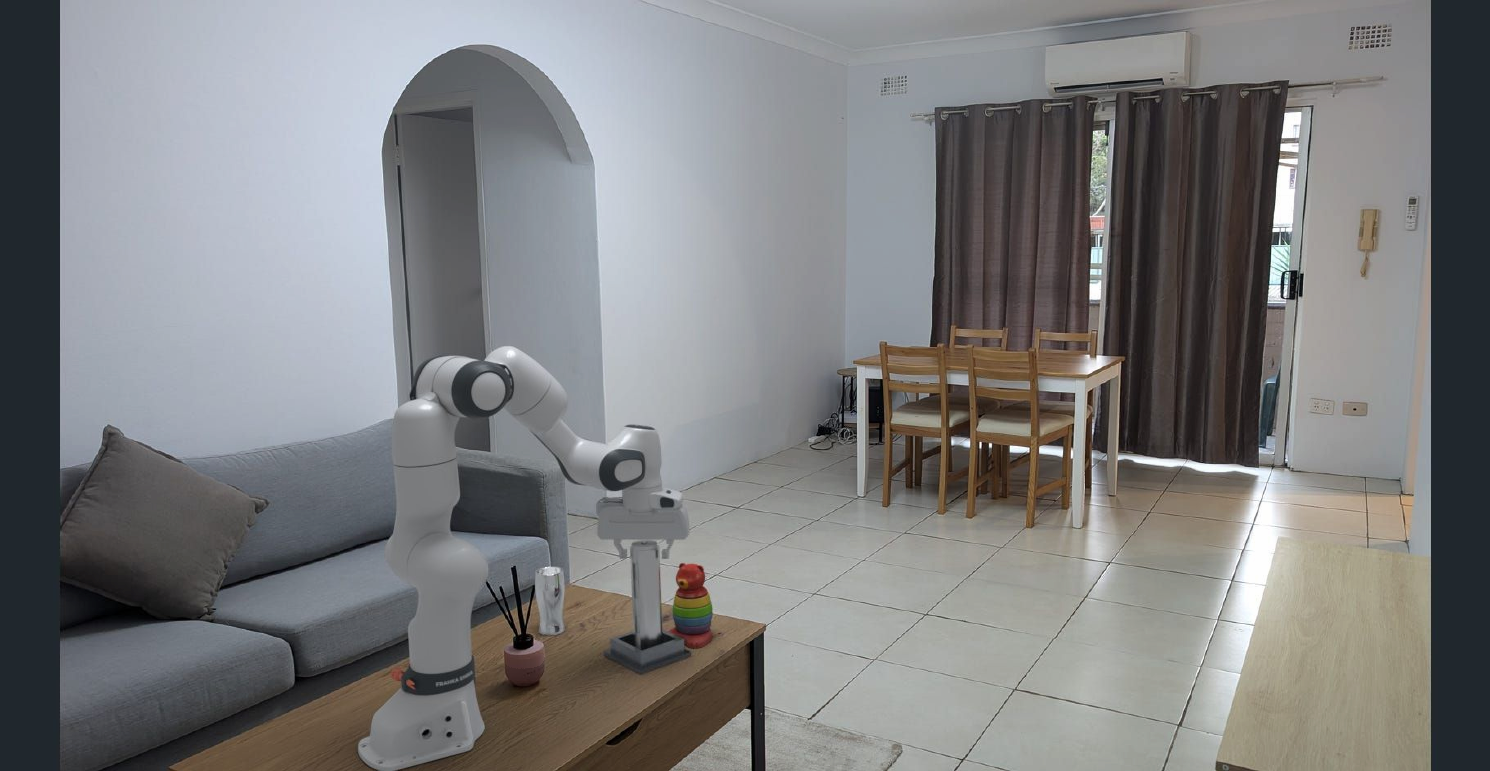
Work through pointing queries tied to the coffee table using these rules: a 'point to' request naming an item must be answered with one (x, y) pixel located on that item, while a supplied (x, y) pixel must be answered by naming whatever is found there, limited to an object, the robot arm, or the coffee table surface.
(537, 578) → the beer glass
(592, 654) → the coffee table surface
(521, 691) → the coffee table surface
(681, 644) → the collar
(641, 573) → the grey cylinder
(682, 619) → the stacking bear
